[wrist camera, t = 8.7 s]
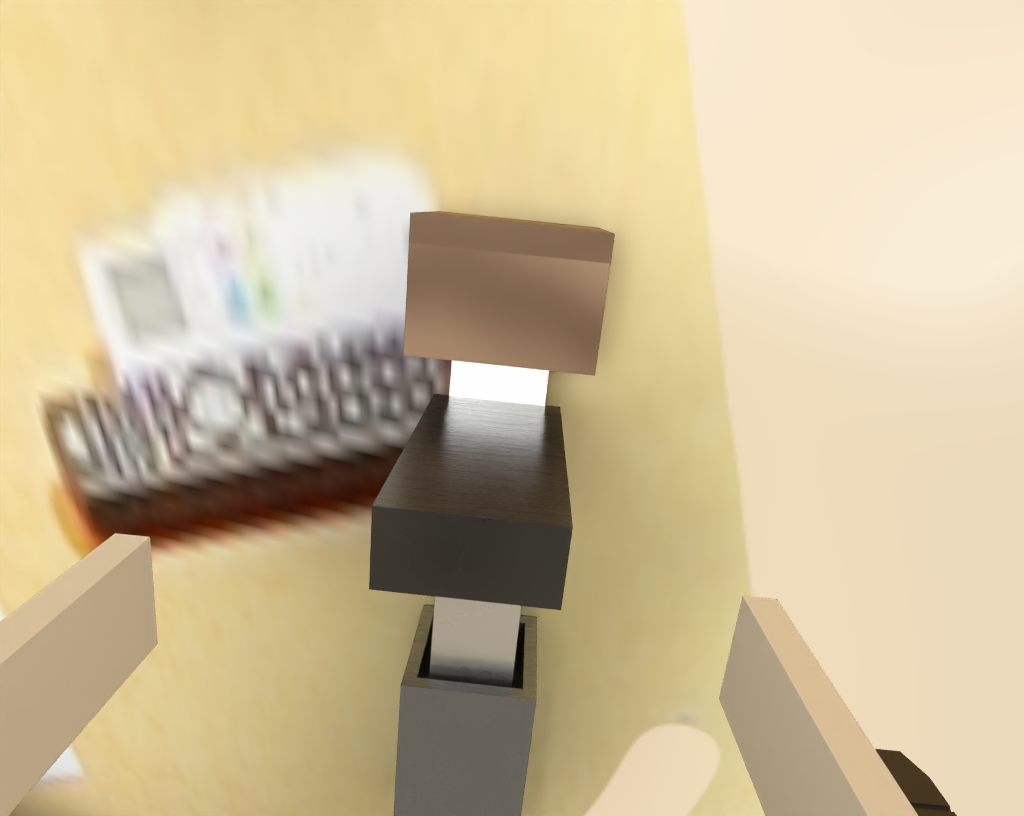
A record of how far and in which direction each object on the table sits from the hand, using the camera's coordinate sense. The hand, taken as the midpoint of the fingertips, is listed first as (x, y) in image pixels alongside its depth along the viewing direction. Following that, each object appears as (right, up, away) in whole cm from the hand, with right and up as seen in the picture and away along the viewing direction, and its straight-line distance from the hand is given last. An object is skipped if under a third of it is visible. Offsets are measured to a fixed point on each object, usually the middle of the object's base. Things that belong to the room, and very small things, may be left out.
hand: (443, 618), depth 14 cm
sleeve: (-1, -13, +22) cm, 25 cm away
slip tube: (0, +1, +16) cm, 16 cm away
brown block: (+2, +11, +14) cm, 18 cm away
